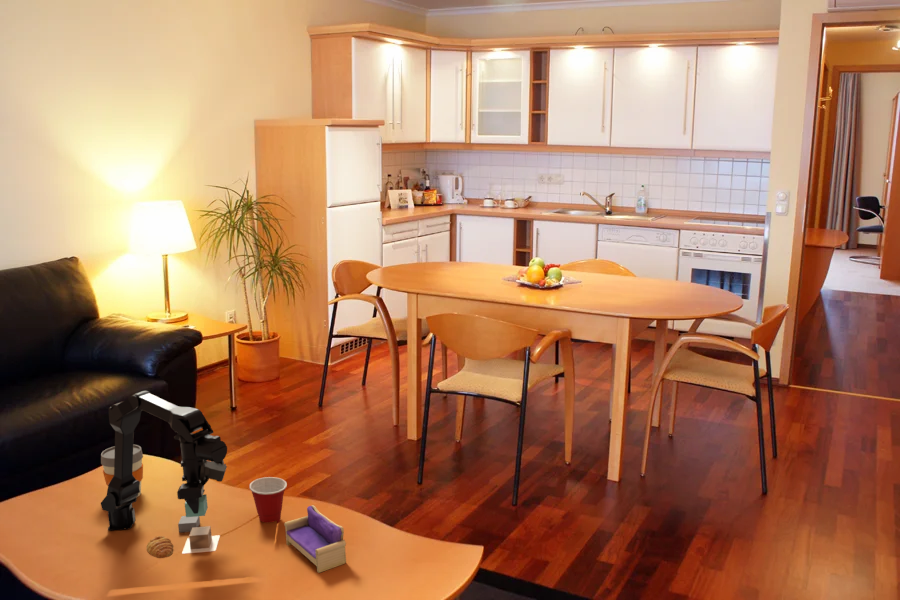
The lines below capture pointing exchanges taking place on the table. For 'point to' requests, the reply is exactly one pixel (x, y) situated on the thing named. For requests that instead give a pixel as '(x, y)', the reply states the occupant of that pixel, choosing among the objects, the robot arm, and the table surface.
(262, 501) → the plastic cup
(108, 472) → the reusable coffee cup
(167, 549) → the pastry
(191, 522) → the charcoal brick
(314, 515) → the toy sofa
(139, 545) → the table surface
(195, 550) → the base plate
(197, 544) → the walnut brick
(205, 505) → the teal brick
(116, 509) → the robot arm
